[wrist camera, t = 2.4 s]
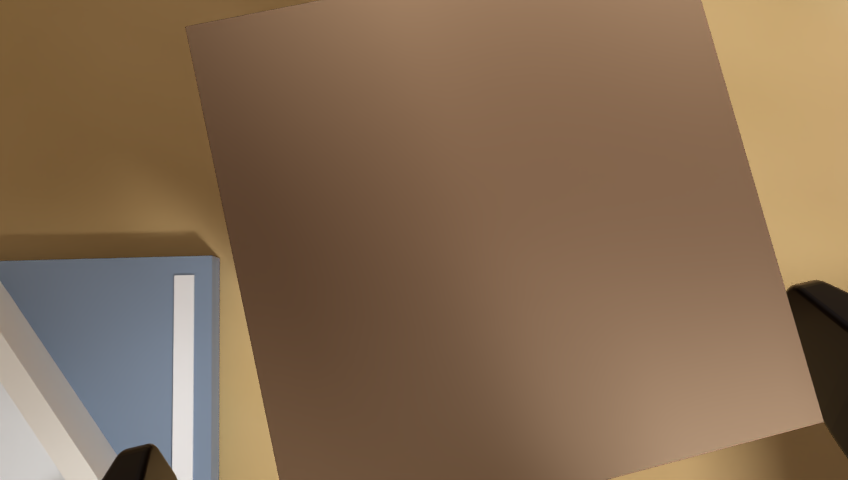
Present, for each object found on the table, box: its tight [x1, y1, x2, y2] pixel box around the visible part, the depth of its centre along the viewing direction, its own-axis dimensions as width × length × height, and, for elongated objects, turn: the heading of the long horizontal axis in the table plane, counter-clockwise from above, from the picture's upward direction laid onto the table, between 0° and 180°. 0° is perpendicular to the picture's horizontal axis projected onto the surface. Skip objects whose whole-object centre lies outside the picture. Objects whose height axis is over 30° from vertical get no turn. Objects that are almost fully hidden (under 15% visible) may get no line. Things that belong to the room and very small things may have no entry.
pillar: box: [185, 0, 824, 480], centre depth 12 cm, size 4×4×13 cm
